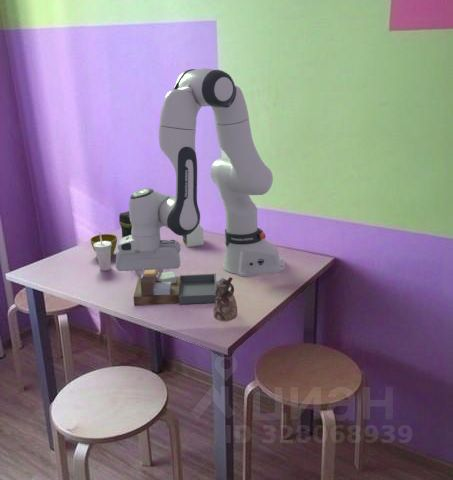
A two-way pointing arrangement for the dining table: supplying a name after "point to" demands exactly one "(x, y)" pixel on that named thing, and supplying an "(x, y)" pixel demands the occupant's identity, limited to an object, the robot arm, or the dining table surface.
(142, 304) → the brown wooden square board
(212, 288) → the tray
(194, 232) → the medicine bottle
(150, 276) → the two-tone eraser block
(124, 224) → the coffee jar
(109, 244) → the smoothie
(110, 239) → the flower pot
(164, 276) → the tile
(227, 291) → the figurine
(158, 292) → the tile
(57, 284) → the dining table surface
